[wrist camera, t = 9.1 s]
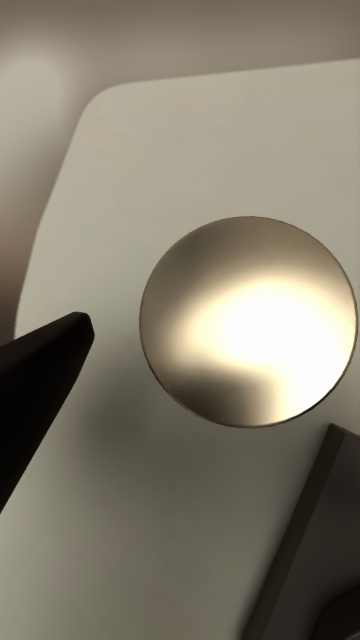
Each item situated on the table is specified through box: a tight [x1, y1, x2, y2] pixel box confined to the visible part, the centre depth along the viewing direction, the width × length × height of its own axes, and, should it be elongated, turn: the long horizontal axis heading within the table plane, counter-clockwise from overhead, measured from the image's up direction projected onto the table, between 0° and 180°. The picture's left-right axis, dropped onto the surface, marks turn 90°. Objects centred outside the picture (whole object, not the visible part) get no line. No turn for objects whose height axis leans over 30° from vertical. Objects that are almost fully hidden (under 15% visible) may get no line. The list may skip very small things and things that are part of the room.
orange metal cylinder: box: [139, 216, 358, 428], centre depth 10 cm, size 4×4×10 cm
